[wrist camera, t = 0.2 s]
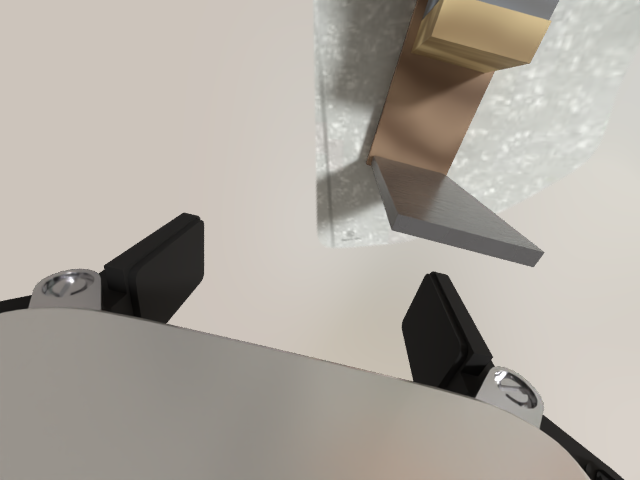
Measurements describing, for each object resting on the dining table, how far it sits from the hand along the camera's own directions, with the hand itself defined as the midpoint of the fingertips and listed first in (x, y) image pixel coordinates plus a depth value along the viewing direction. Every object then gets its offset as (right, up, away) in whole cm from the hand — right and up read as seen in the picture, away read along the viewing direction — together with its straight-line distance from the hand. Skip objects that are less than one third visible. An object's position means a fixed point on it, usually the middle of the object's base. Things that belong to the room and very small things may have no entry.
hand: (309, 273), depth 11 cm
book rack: (+15, +22, +22) cm, 34 cm away
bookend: (+13, +11, +26) cm, 31 cm away
